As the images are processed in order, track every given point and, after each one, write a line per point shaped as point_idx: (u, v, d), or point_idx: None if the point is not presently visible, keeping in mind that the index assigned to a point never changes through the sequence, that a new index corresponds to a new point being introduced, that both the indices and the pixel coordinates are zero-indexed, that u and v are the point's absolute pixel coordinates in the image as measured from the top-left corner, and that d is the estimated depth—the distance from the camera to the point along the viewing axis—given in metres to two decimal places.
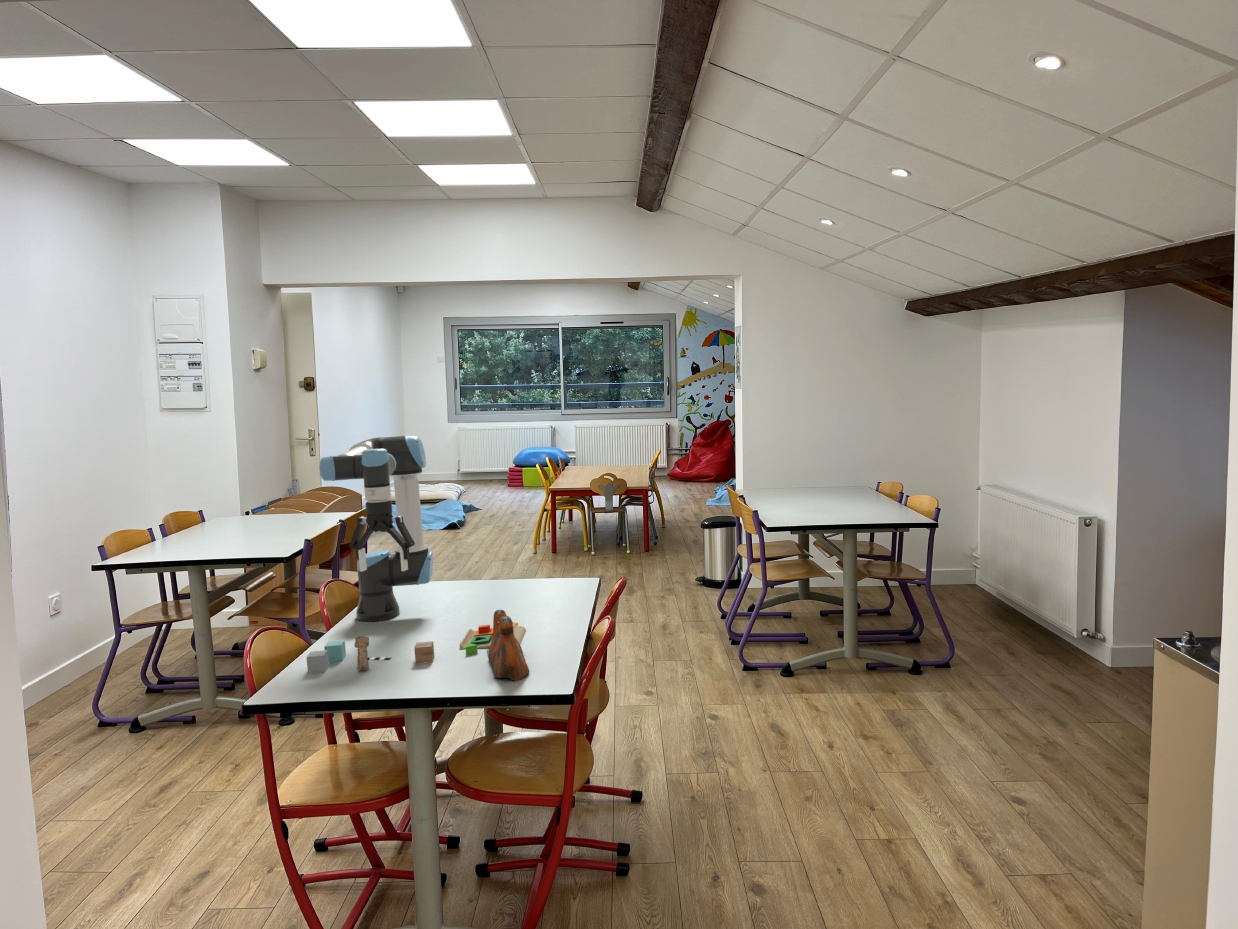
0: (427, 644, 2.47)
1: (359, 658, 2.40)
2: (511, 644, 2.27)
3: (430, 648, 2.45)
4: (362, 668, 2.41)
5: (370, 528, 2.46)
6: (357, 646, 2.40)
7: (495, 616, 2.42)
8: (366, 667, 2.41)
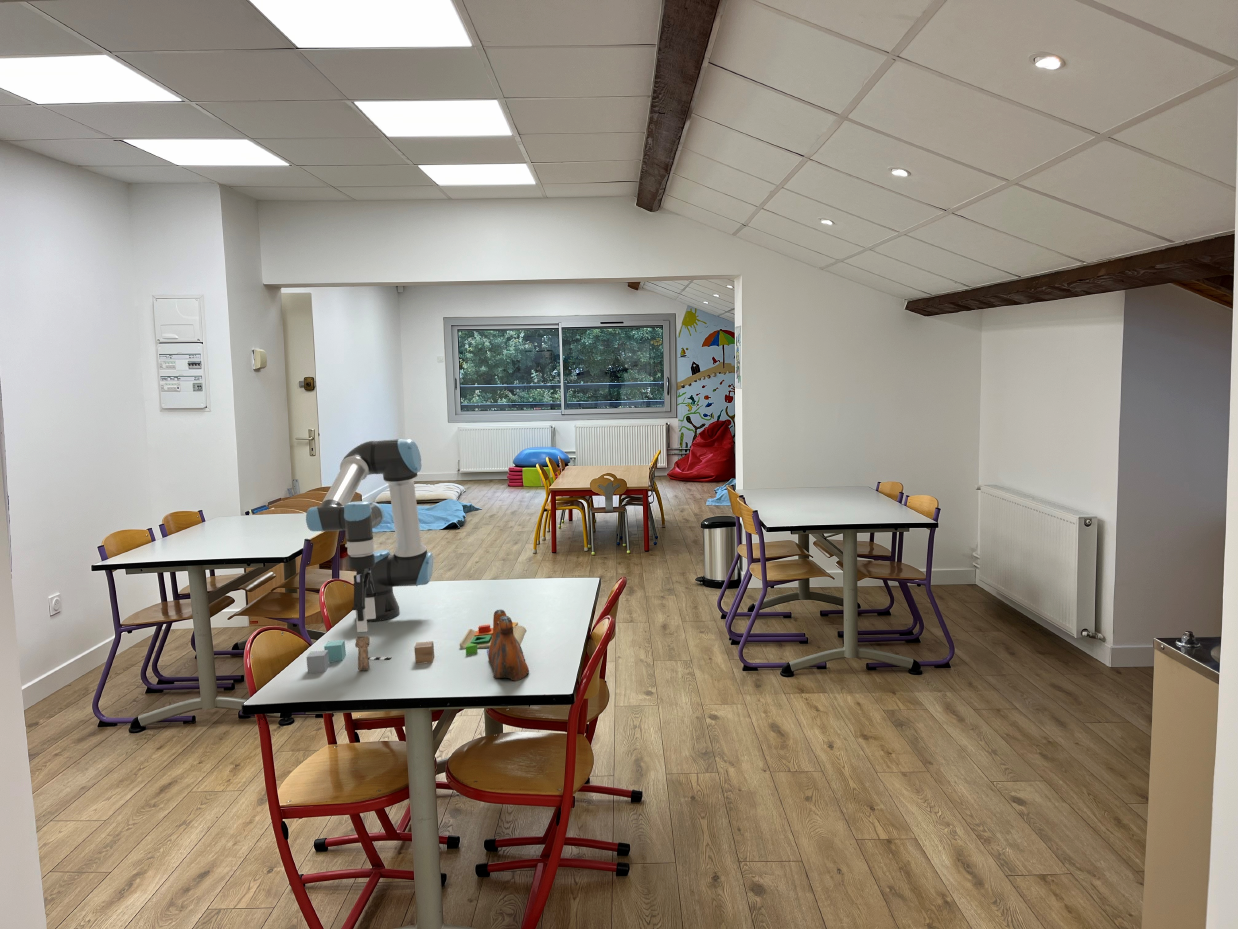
0: (427, 644, 2.47)
1: (360, 658, 2.40)
2: (511, 644, 2.27)
3: (430, 648, 2.45)
4: (363, 668, 2.41)
5: None
6: (358, 646, 2.40)
7: (495, 616, 2.42)
8: (367, 667, 2.41)
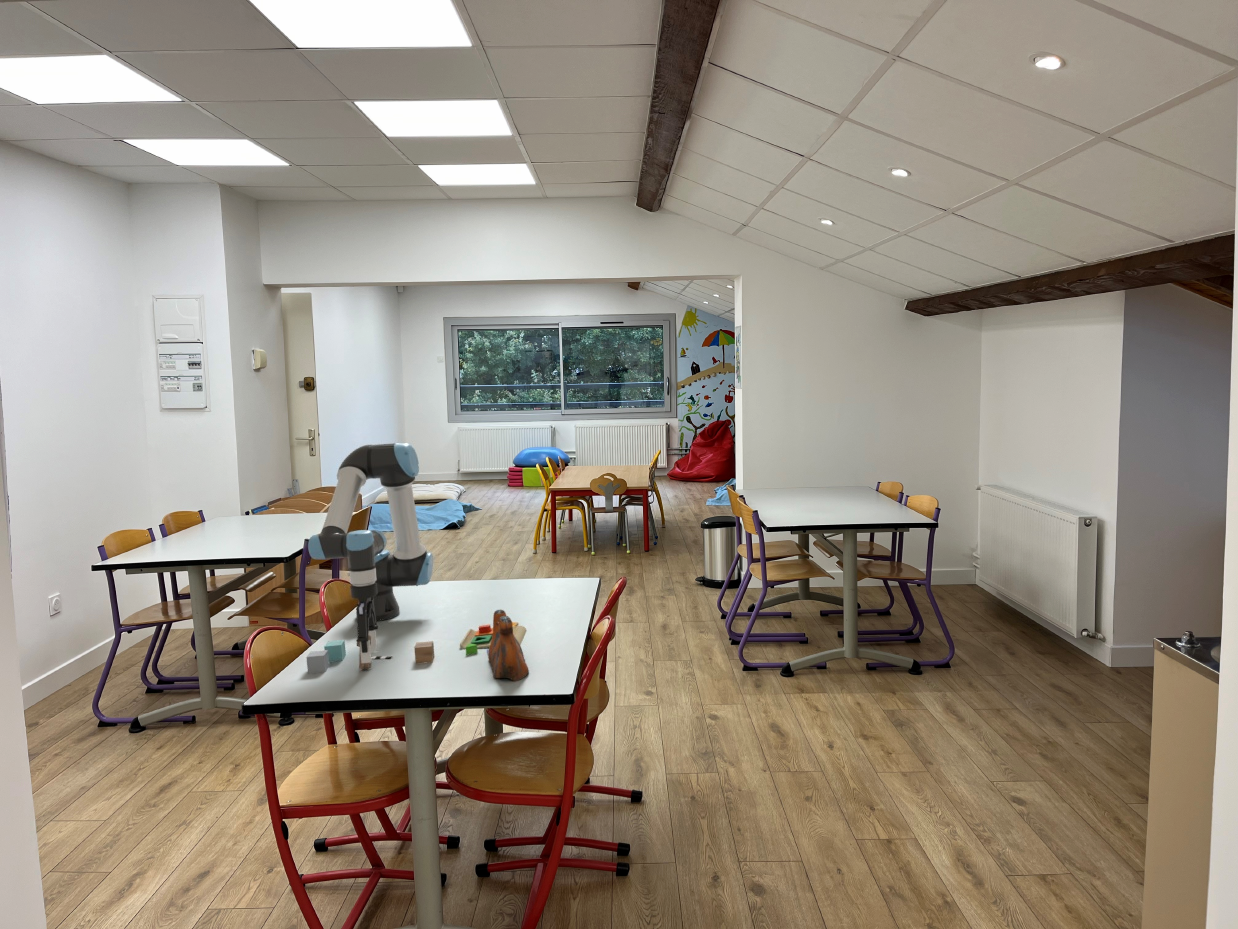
0: (427, 644, 2.47)
1: None
2: (510, 644, 2.27)
3: (430, 648, 2.45)
4: (364, 667, 2.41)
5: None
6: (359, 645, 2.40)
7: (495, 616, 2.42)
8: (368, 666, 2.41)
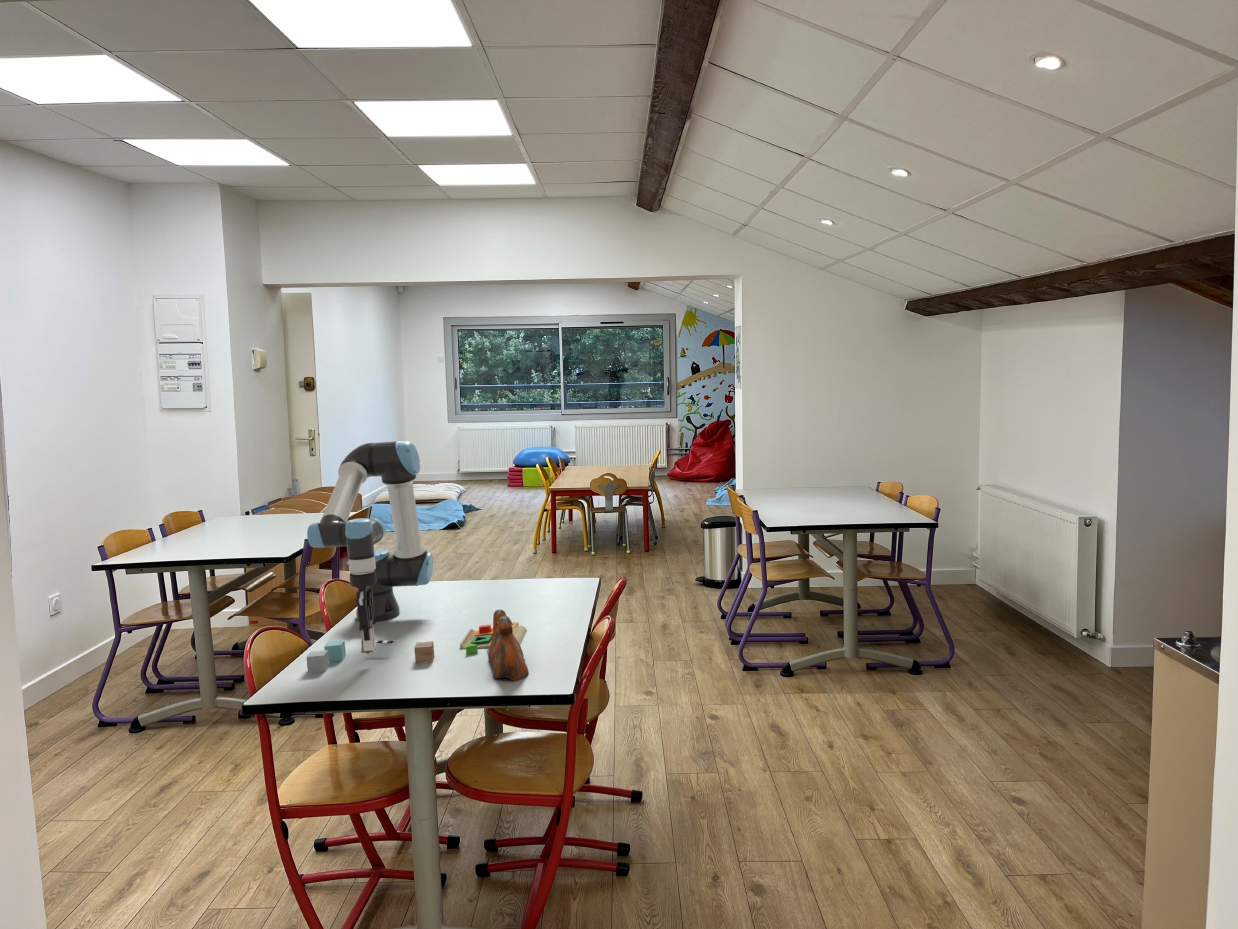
0: (427, 644, 2.47)
1: None
2: (510, 644, 2.27)
3: (430, 648, 2.45)
4: (366, 651, 2.45)
5: None
6: None
7: (495, 616, 2.42)
8: (370, 650, 2.45)
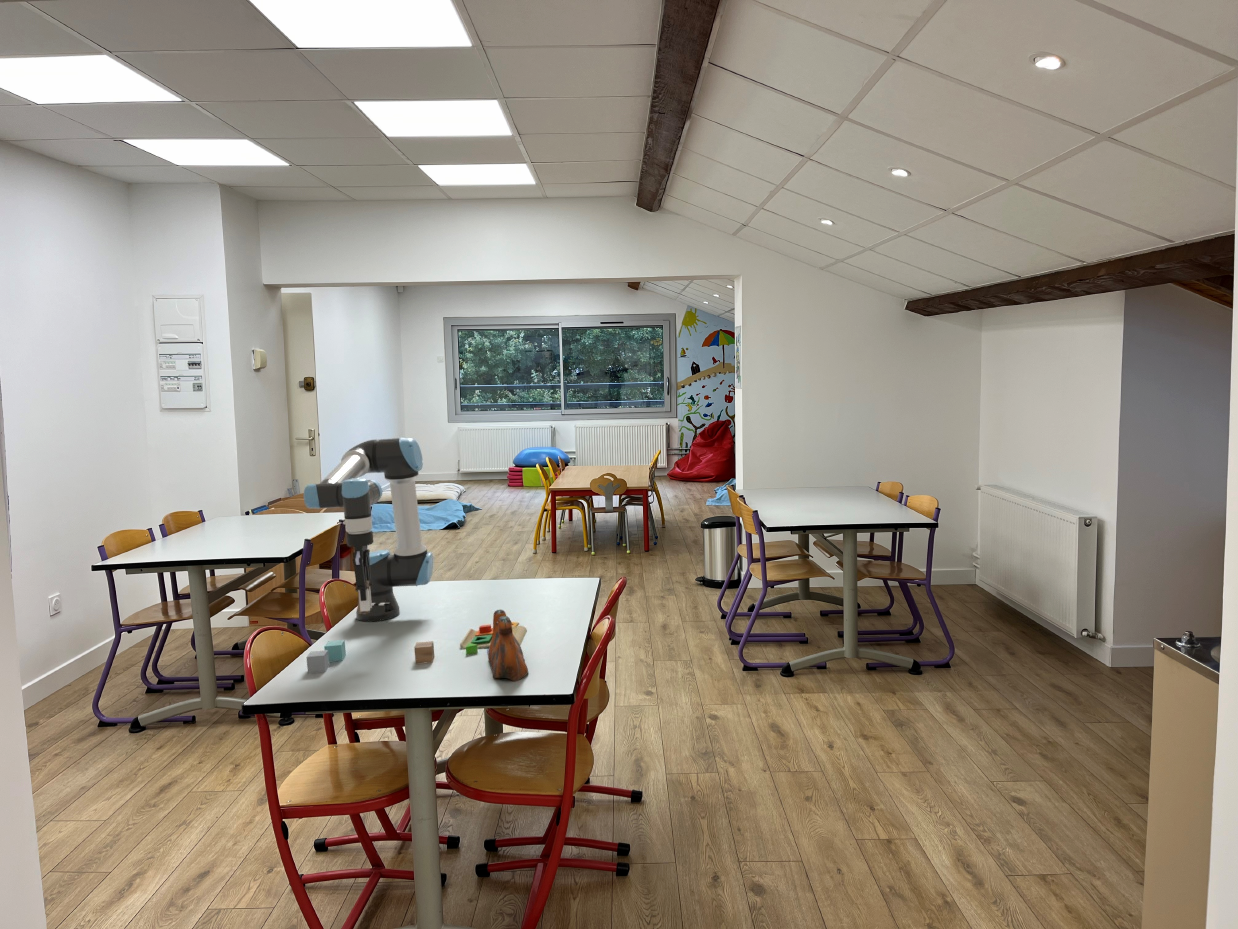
0: (427, 644, 2.47)
1: None
2: (510, 644, 2.27)
3: (430, 648, 2.45)
4: (363, 611, 2.44)
5: None
6: None
7: (495, 616, 2.42)
8: None
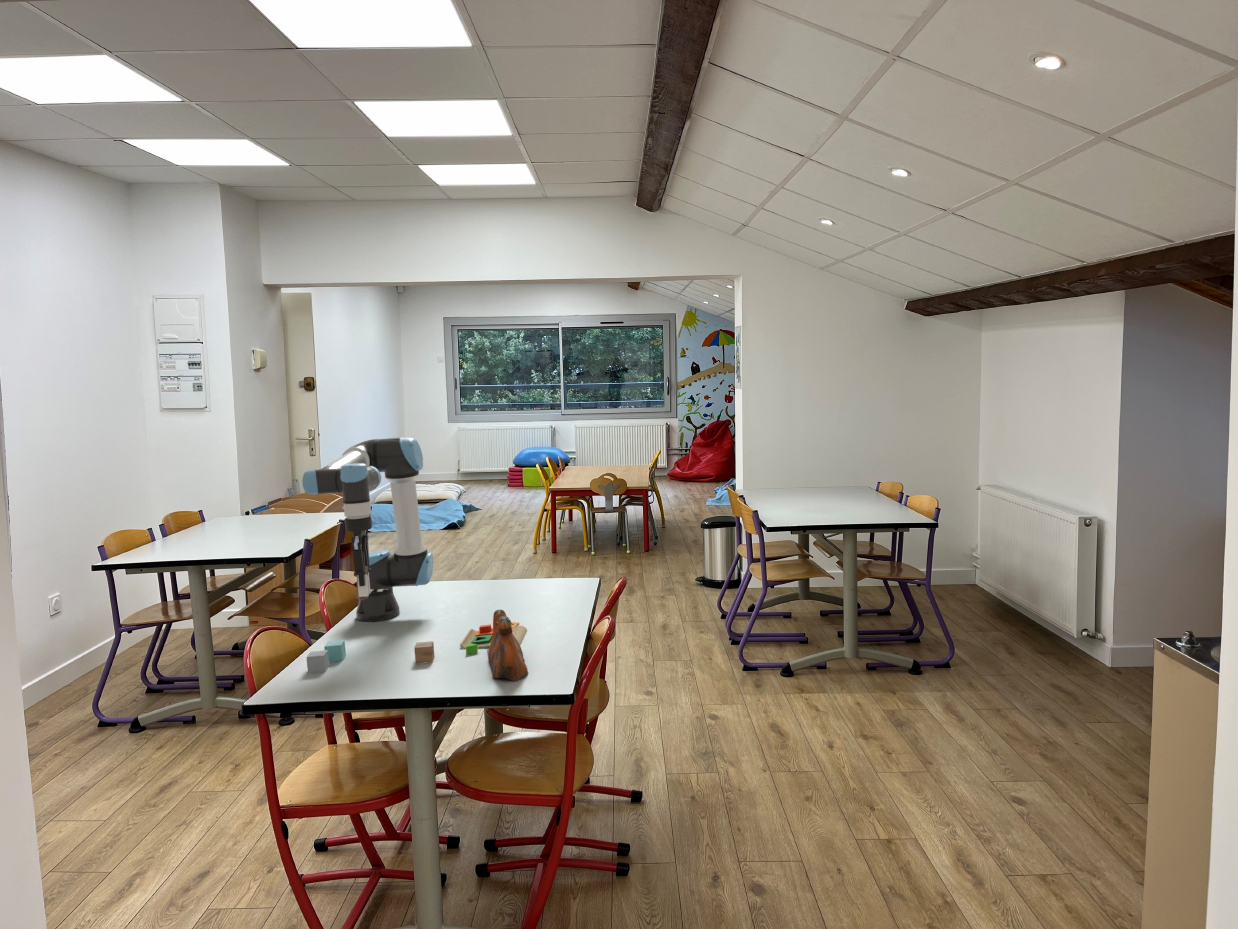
0: (427, 644, 2.47)
1: None
2: (509, 644, 2.27)
3: (430, 648, 2.45)
4: (361, 597, 2.43)
5: None
6: (356, 575, 2.42)
7: (495, 616, 2.42)
8: (365, 596, 2.43)
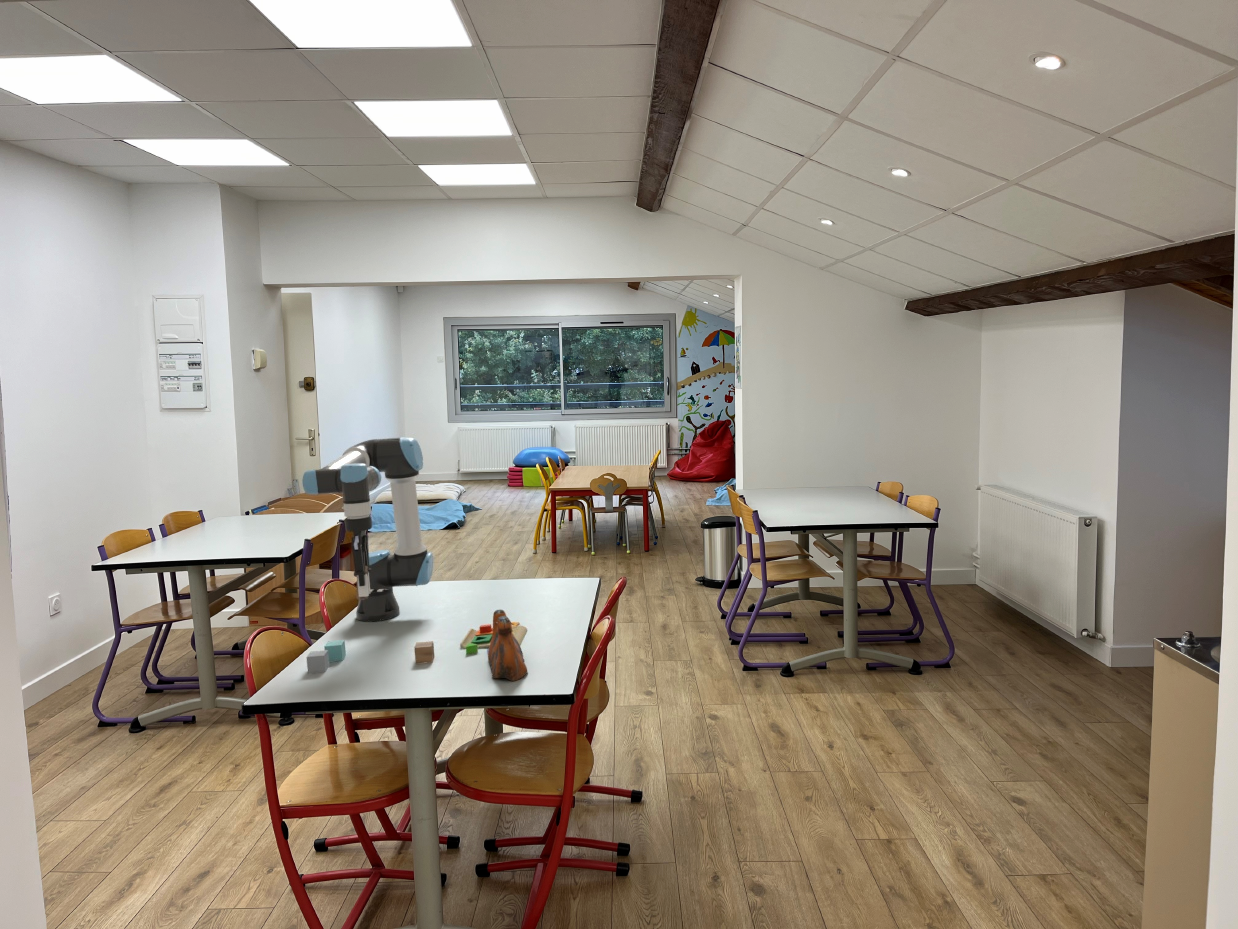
0: (427, 644, 2.47)
1: None
2: (509, 644, 2.27)
3: (430, 648, 2.45)
4: (361, 597, 2.43)
5: None
6: (356, 575, 2.42)
7: (494, 616, 2.42)
8: (365, 596, 2.43)
